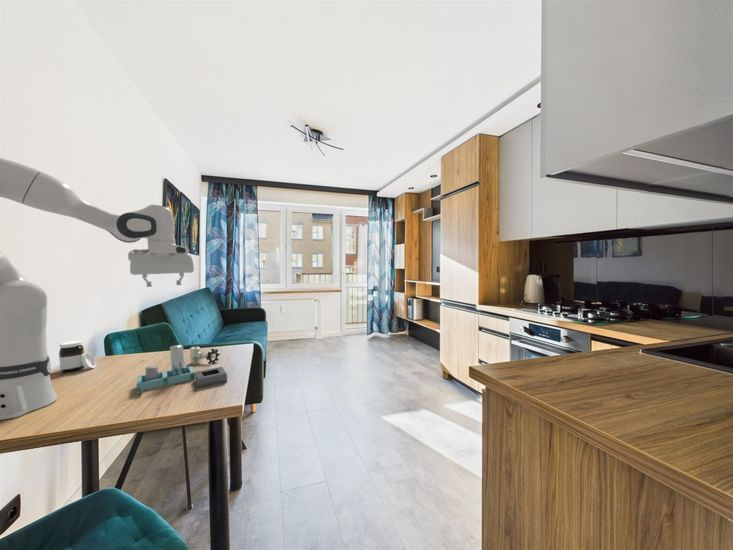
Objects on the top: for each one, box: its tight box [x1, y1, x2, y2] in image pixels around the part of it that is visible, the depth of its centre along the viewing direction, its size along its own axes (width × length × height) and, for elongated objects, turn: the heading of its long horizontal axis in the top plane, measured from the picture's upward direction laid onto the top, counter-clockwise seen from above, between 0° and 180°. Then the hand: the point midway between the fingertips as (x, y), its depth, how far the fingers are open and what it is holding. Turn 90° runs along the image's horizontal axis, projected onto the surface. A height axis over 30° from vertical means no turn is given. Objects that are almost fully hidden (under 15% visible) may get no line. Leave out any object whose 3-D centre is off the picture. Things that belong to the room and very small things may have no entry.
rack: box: [136, 365, 196, 395], centre depth 112 cm, size 17×9×7 cm, turn 124°
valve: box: [189, 346, 221, 365], centre depth 135 cm, size 7×7×12 cm
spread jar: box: [58, 340, 97, 374], centre depth 131 cm, size 12×11×12 cm
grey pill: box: [169, 344, 185, 376], centre depth 114 cm, size 4×4×12 cm
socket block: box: [194, 366, 228, 389], centre depth 111 cm, size 9×9×4 cm
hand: (164, 285), depth 119 cm, fingers open, 8 cm apart
